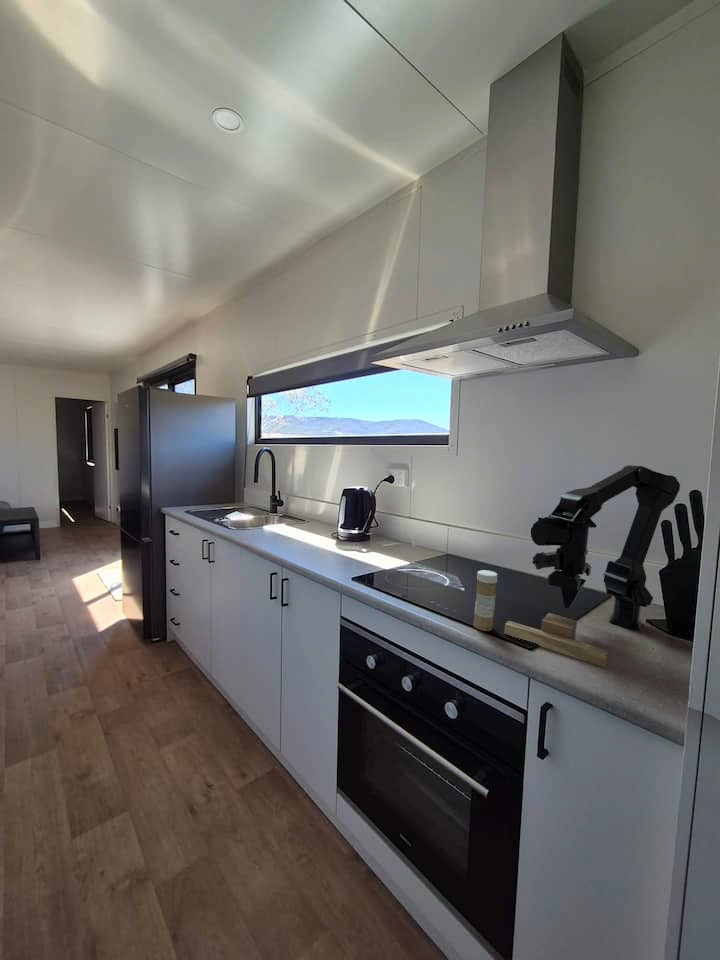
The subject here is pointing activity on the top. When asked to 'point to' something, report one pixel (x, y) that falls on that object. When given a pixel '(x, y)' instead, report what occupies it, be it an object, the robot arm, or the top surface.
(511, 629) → the oak board
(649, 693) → the top surface
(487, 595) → the sprinkles bottle
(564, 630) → the tan wooden block
